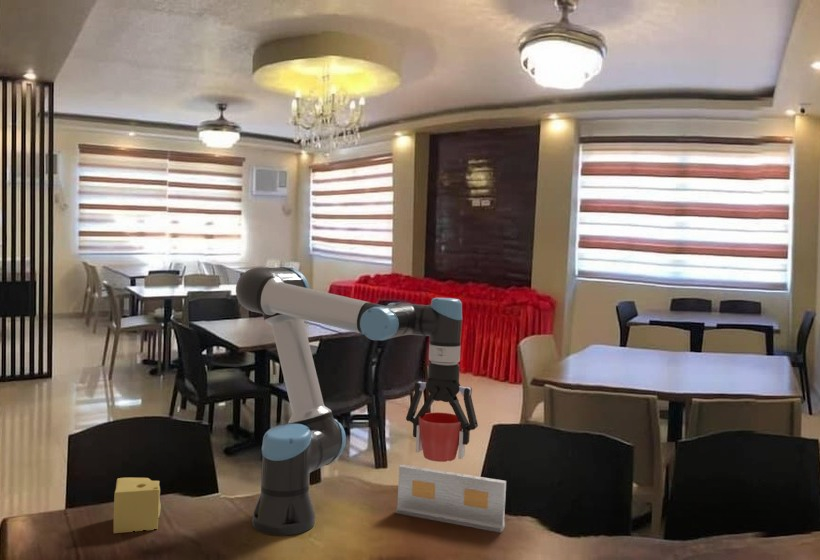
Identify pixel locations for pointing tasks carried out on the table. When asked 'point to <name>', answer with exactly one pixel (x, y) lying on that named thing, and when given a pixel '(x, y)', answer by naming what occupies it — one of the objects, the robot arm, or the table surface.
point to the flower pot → (439, 436)
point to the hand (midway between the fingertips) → (439, 454)
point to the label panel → (452, 497)
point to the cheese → (136, 505)
